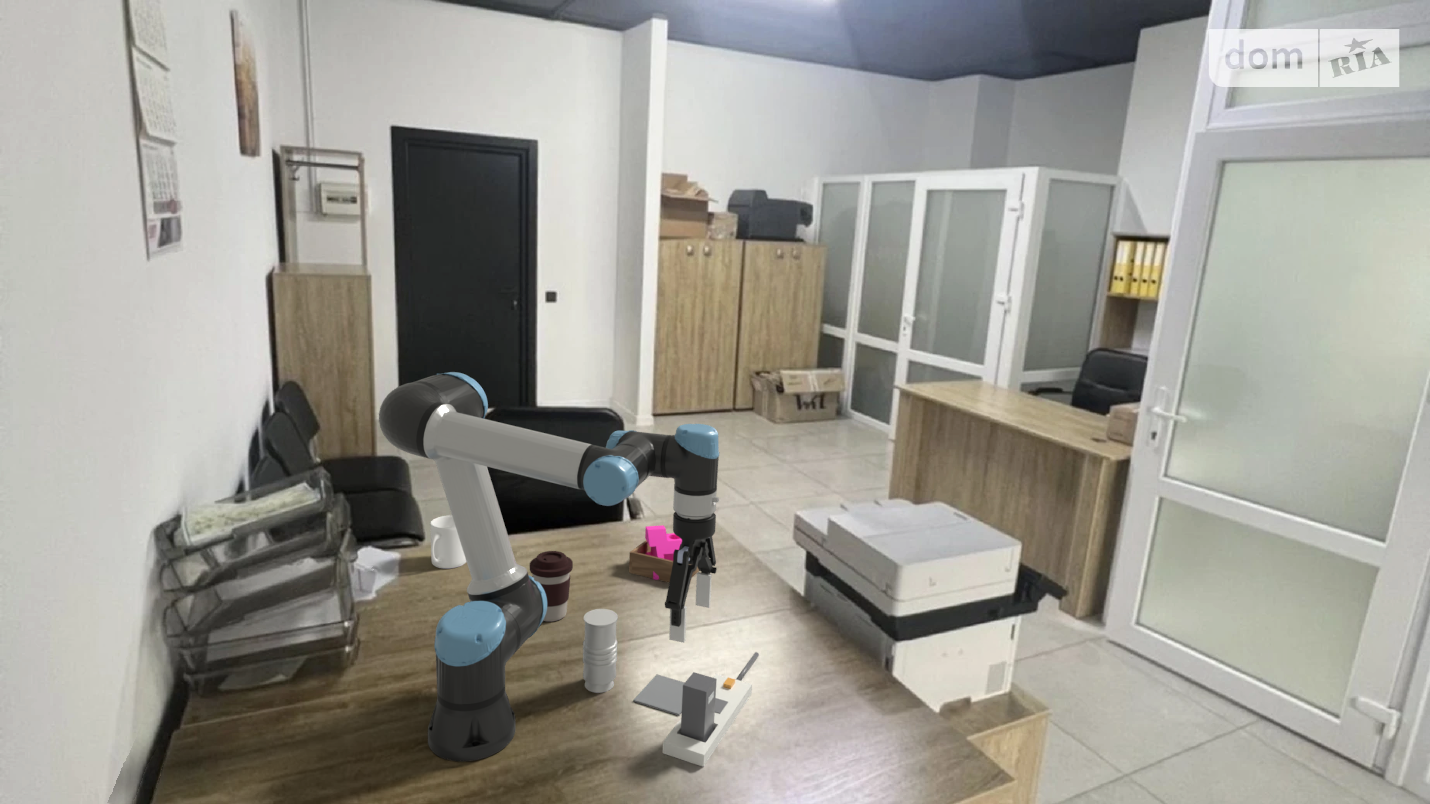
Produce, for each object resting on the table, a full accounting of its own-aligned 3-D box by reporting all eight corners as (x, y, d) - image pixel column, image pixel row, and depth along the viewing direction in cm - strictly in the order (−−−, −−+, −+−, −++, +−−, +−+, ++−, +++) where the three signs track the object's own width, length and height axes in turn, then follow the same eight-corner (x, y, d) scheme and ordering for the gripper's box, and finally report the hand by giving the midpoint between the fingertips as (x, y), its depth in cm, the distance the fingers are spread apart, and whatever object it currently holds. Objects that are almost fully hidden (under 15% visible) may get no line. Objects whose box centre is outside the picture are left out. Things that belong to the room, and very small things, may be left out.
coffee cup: (577, 607, 187) (577, 549, 183) (565, 627, 177) (565, 567, 174) (537, 603, 188) (537, 546, 184) (523, 623, 178) (523, 563, 175)
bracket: (644, 561, 214) (645, 526, 212) (679, 558, 217) (681, 524, 215) (653, 579, 203) (655, 543, 201) (691, 576, 206) (693, 540, 204)
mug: (473, 555, 212) (472, 516, 209) (457, 574, 200) (456, 533, 198) (439, 553, 212) (438, 514, 210) (421, 572, 200) (420, 530, 198)
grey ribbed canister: (611, 672, 160) (613, 606, 157) (620, 690, 154) (621, 622, 151) (579, 677, 158) (580, 610, 154) (586, 696, 151) (587, 627, 148)
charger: (703, 751, 137) (706, 692, 135) (680, 743, 139) (682, 685, 136) (713, 736, 141) (716, 678, 139) (690, 729, 143) (693, 672, 141)
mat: (679, 715, 147) (679, 714, 147) (633, 701, 151) (633, 699, 151) (700, 688, 156) (700, 687, 156) (656, 675, 160) (656, 674, 160)
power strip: (703, 766, 133) (704, 750, 133) (662, 753, 136) (663, 737, 136) (773, 660, 168) (774, 647, 167) (739, 651, 171) (740, 638, 170)
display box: (682, 586, 201) (683, 564, 199) (629, 572, 207) (629, 552, 205) (704, 565, 213) (705, 545, 212) (653, 554, 219) (653, 534, 218)
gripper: (690, 541, 122) (686, 661, 126) (735, 493, 145) (730, 596, 150) (647, 533, 124) (644, 652, 129) (698, 488, 147) (694, 589, 152)
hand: (690, 622), depth 139 cm, fingers open, 13 cm apart
